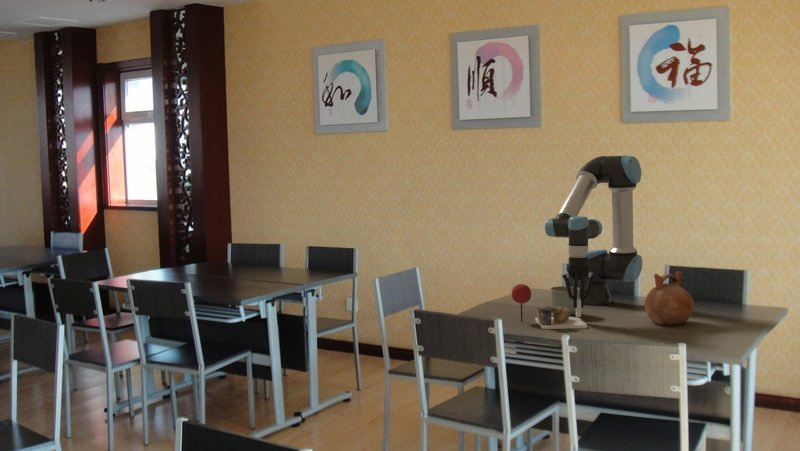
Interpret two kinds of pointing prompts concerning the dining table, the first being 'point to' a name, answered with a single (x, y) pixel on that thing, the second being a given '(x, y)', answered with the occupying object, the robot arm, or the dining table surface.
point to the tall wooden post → (544, 316)
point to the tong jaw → (557, 313)
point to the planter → (562, 298)
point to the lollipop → (521, 294)
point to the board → (564, 324)
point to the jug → (669, 301)
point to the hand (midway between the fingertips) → (578, 315)
